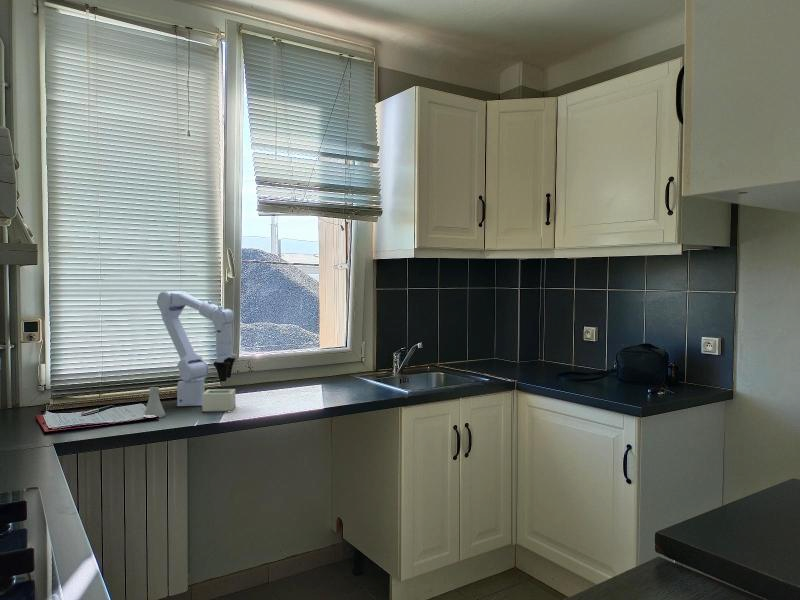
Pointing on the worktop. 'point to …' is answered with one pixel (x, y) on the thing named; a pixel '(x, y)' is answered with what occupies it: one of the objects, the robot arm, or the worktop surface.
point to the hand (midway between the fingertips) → (225, 379)
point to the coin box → (218, 400)
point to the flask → (154, 404)
